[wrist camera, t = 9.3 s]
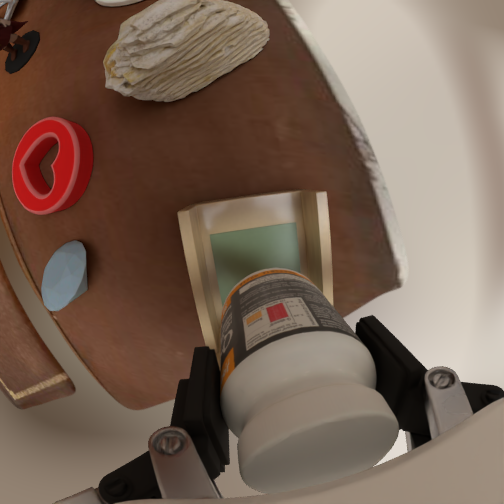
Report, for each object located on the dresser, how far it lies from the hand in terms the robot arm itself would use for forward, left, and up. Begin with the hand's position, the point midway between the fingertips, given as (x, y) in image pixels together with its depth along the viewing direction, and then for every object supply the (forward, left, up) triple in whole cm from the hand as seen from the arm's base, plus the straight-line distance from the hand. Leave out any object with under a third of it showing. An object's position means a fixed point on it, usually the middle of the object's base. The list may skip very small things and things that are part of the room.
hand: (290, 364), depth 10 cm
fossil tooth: (-20, -3, -16) cm, 26 cm away
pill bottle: (0, 0, -5) cm, 5 cm away
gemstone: (-2, -19, -16) cm, 25 cm away
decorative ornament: (-13, -19, -16) cm, 28 cm away
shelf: (0, 0, -16) cm, 16 cm away
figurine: (-32, -26, -16) cm, 45 cm away
